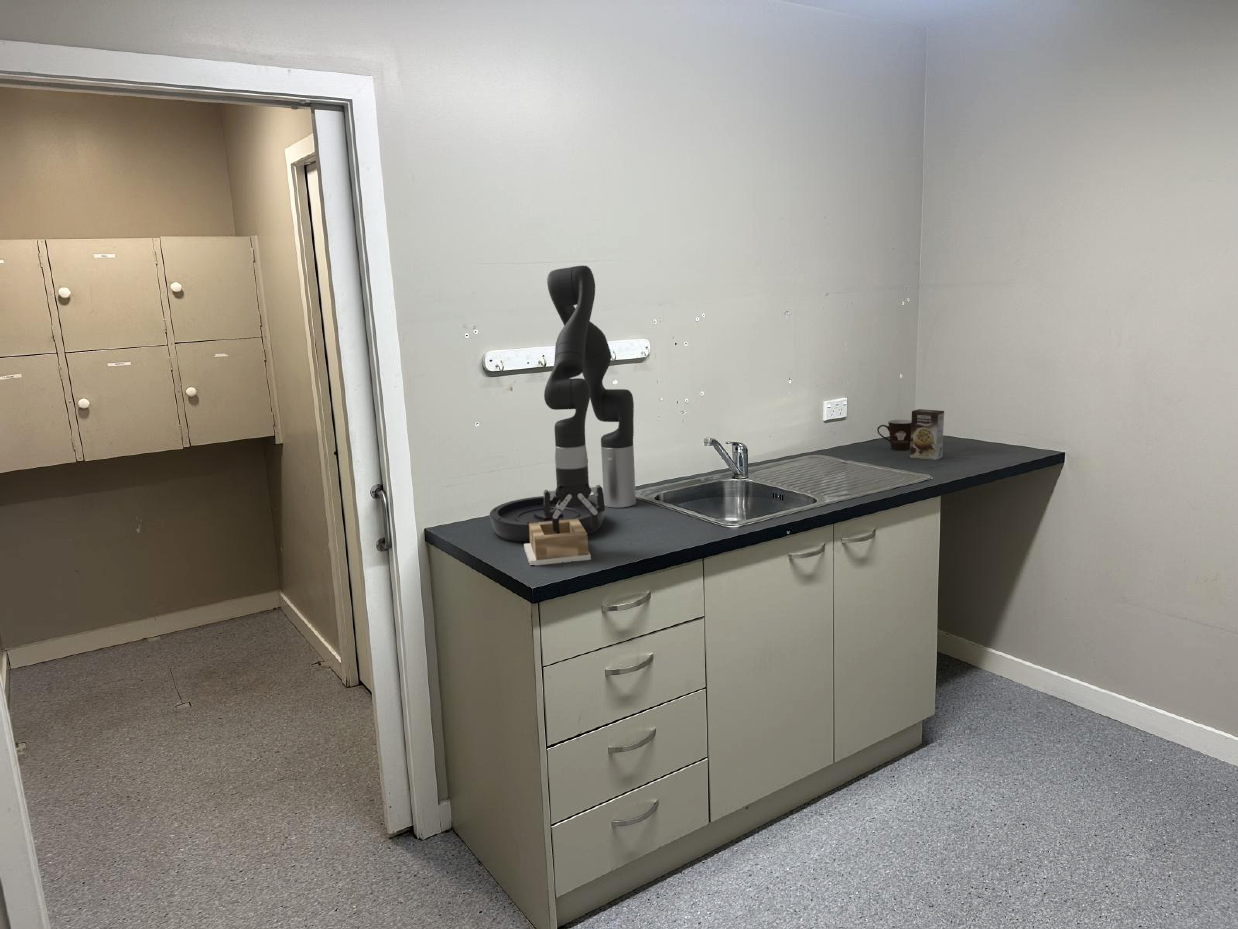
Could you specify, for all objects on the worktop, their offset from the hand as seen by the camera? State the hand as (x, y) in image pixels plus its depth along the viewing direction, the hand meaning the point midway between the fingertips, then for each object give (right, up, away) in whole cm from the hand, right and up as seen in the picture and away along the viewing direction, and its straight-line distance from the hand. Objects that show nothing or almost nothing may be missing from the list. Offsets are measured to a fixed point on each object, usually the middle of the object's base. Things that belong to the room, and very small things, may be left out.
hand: (575, 531), depth 202 cm
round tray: (-8, -2, +23) cm, 24 cm away
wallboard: (-4, -5, 0) cm, 7 cm away
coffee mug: (+111, +21, +106) cm, 154 cm away
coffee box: (+115, +18, +89) cm, 147 cm away
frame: (-4, -4, 0) cm, 6 cm away
